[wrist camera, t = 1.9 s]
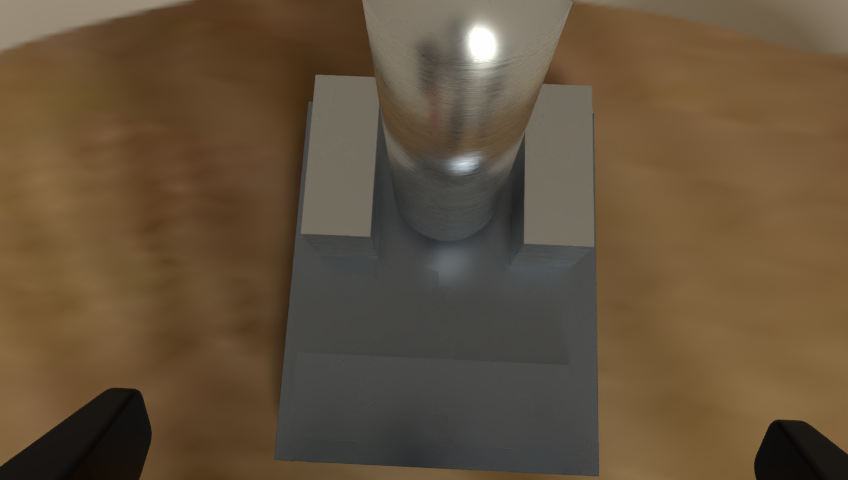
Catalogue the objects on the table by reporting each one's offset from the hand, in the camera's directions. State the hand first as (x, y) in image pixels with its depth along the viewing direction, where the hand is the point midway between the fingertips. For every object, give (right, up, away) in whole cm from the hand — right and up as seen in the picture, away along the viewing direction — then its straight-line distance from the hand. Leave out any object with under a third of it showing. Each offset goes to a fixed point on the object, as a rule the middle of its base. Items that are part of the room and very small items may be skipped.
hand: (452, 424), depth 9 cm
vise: (0, +1, +14) cm, 14 cm away
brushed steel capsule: (0, +5, +13) cm, 14 cm away
